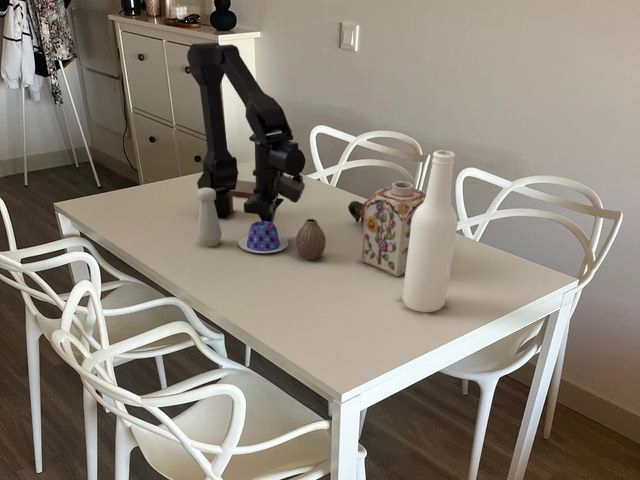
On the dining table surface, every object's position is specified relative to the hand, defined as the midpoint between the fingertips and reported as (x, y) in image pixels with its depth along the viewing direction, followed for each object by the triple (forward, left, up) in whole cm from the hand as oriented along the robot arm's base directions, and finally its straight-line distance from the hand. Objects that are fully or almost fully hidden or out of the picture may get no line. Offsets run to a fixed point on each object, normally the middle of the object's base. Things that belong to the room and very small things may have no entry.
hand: (268, 230), depth 162 cm
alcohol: (+41, -24, -2) cm, 47 cm away
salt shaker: (-13, -8, -2) cm, 15 cm away
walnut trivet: (-16, +32, -2) cm, 36 cm away
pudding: (0, -5, -2) cm, 5 cm away
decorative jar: (+32, -5, -2) cm, 32 cm away
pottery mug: (+22, +16, -2) cm, 28 cm away
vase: (+12, -8, -2) cm, 15 cm away
